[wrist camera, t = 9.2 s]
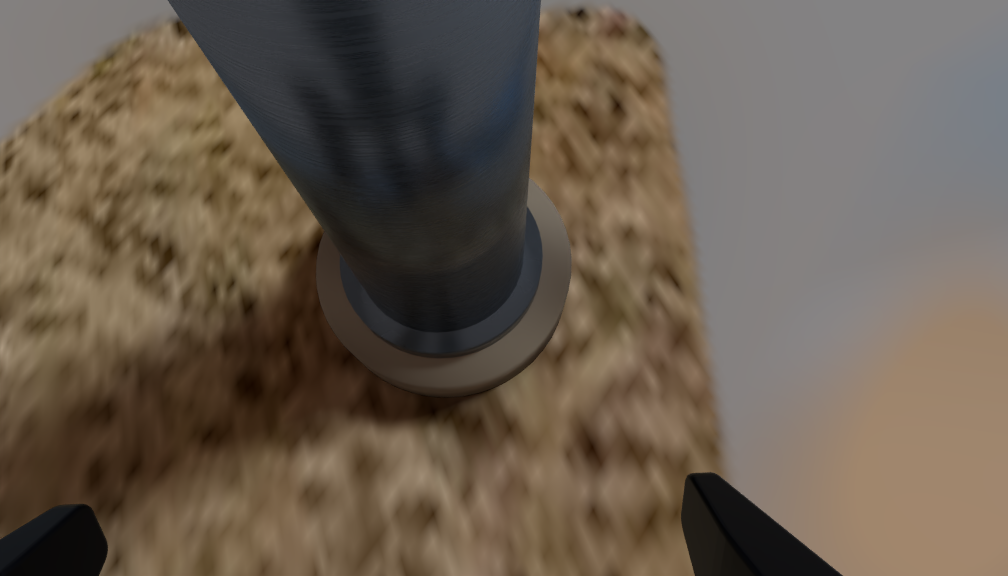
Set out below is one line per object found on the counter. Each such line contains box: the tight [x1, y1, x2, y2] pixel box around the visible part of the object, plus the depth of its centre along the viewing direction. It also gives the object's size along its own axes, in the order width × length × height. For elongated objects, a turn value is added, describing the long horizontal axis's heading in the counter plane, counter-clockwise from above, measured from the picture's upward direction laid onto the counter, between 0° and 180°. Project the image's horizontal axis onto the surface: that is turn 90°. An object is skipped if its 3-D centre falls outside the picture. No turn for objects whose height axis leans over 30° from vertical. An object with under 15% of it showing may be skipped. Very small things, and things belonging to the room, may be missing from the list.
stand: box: [316, 178, 571, 397], centre depth 20 cm, size 8×8×2 cm
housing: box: [168, 0, 543, 358], centre depth 12 cm, size 6×6×14 cm
